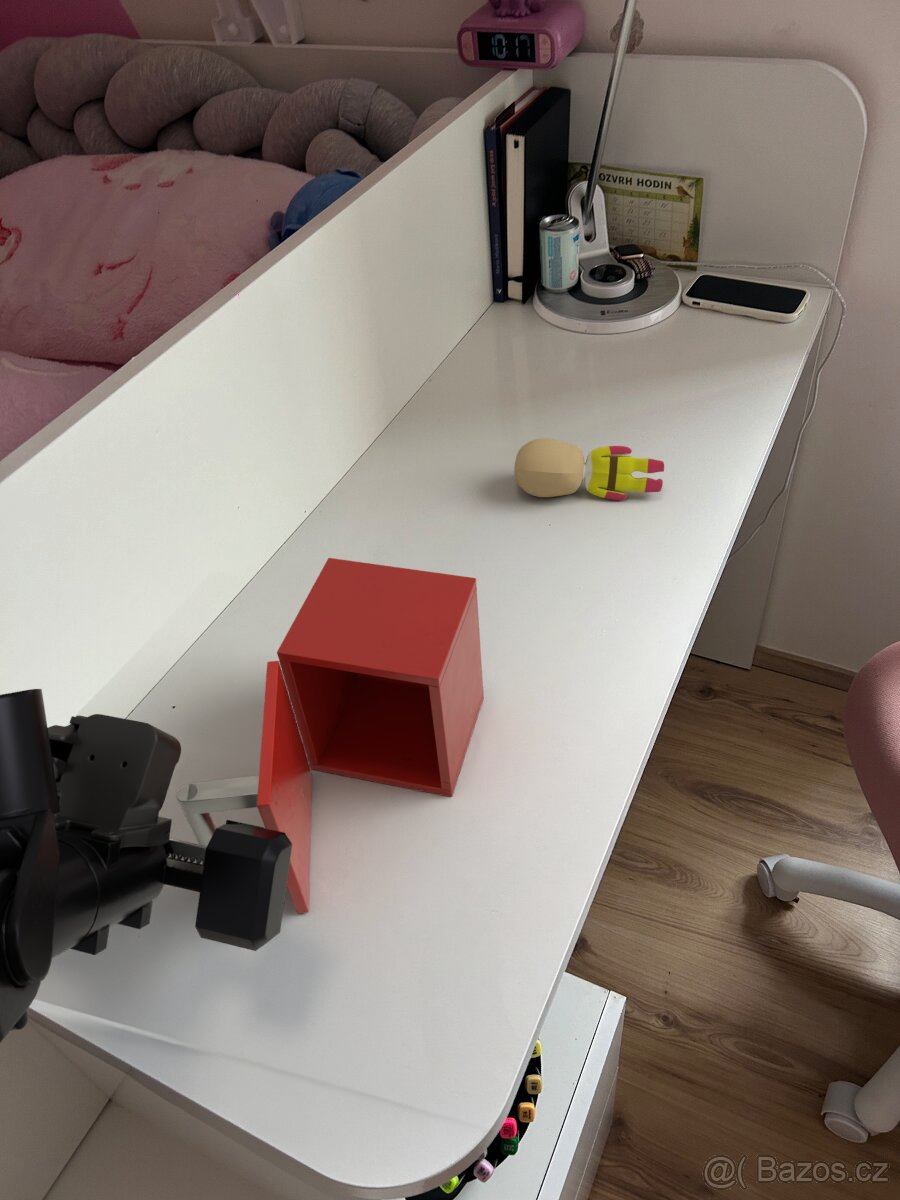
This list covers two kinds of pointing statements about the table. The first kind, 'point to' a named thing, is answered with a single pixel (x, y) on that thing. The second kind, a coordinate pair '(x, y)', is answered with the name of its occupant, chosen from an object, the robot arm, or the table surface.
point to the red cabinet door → (266, 788)
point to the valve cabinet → (386, 674)
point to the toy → (582, 470)
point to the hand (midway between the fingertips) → (201, 828)
